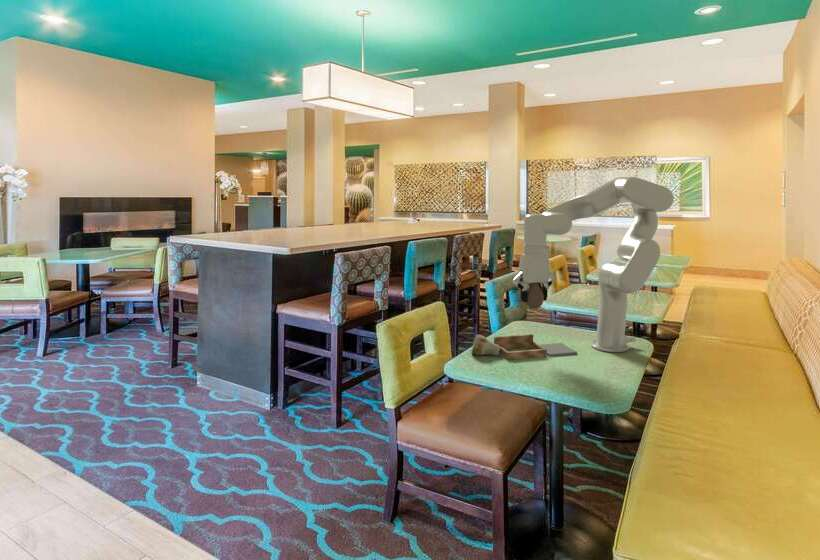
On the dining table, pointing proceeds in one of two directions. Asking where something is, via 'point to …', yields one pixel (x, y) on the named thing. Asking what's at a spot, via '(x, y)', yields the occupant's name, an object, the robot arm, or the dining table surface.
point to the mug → (484, 346)
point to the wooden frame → (519, 347)
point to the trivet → (558, 349)
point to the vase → (534, 296)
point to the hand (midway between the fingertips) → (533, 300)
